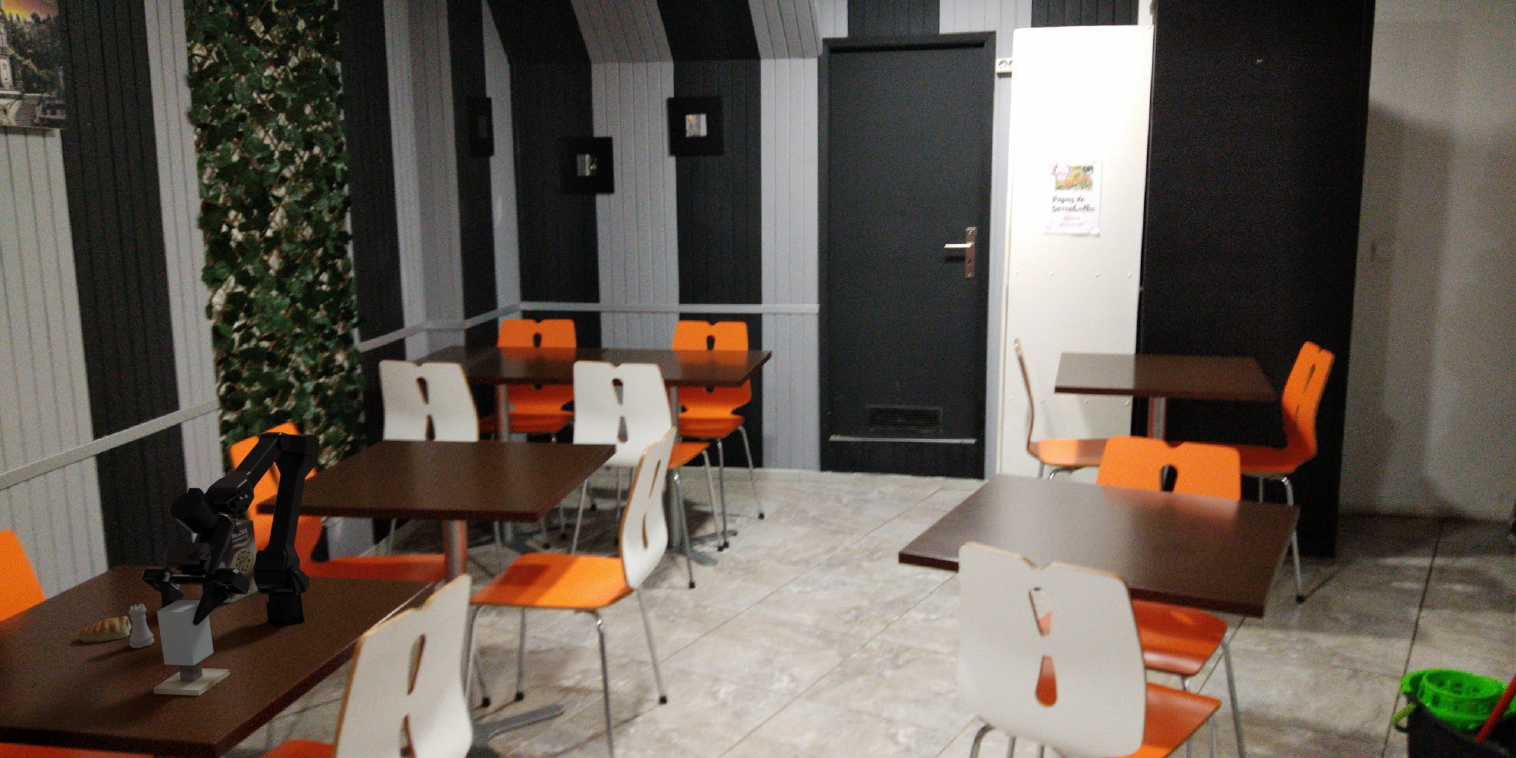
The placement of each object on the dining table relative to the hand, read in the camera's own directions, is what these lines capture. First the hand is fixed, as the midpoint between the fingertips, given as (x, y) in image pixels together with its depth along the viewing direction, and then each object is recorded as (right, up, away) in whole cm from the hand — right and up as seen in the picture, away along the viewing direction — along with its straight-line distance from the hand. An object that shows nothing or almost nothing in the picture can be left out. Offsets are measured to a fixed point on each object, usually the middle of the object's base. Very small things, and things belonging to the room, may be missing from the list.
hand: (179, 624), depth 217 cm
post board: (+1, -12, +3) cm, 12 cm away
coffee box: (-11, -4, +50) cm, 51 cm away
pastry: (-28, -9, +29) cm, 41 cm away
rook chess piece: (-19, -9, +23) cm, 31 cm away
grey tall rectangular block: (+1, -7, +3) cm, 7 cm away
